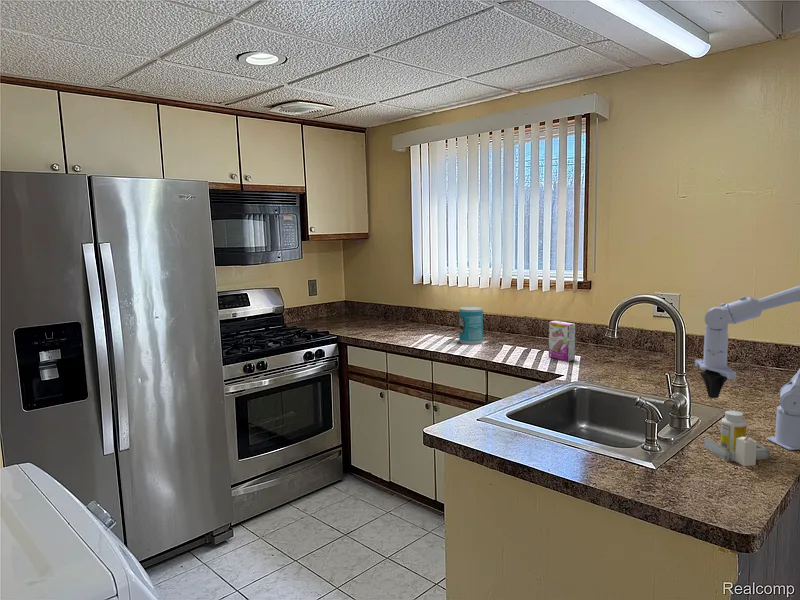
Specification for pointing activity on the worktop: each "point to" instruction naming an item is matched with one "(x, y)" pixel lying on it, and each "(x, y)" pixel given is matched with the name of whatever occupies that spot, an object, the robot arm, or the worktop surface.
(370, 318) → the worktop surface
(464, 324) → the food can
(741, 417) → the supplement bottle
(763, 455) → the scale bay
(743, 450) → the block
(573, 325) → the candy bar box
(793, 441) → the robot arm
